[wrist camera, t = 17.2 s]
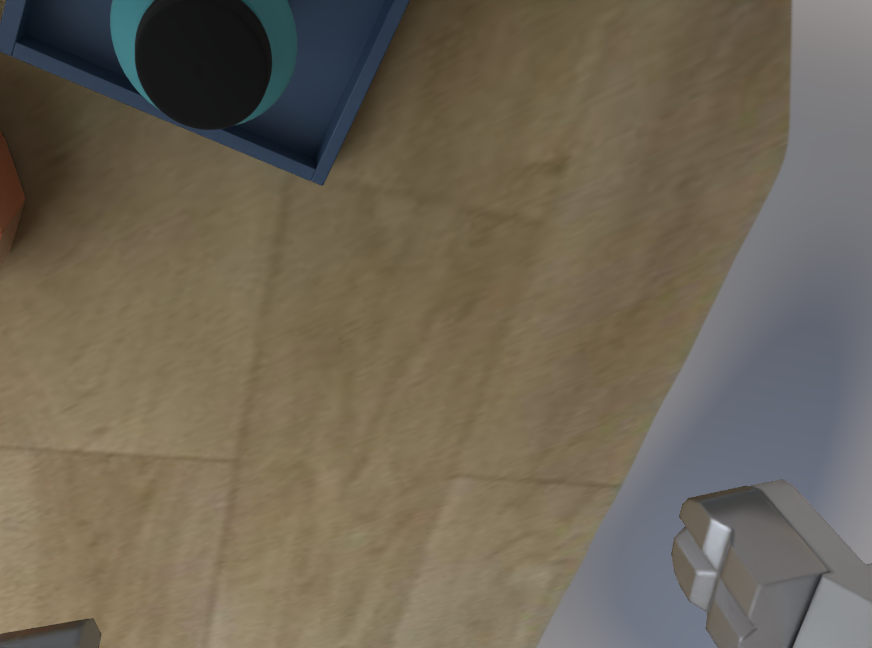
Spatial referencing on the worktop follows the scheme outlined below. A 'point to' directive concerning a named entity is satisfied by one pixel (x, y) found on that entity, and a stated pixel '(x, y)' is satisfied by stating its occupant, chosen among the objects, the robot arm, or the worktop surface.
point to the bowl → (8, 200)
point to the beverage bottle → (206, 56)
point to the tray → (267, 133)
